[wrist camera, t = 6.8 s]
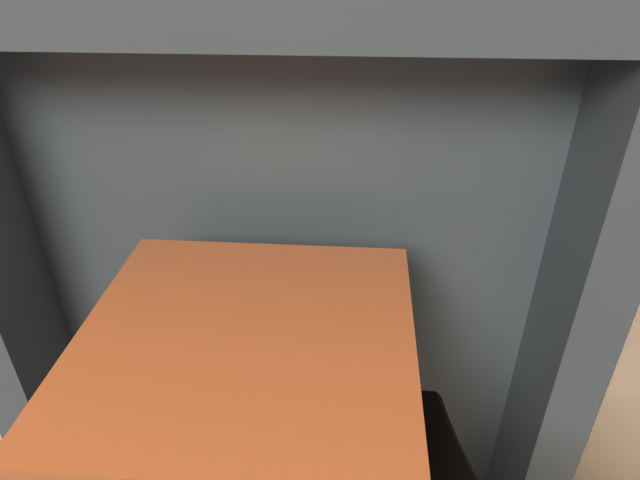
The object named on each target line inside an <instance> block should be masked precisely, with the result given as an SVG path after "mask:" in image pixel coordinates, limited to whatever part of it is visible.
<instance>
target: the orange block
mask: <svg viewBox="0 0 640 480" xmlns="http://www.w3.org/2000/svg"><path fill="white" fill-rule="evenodd" d="M0 480H431V478H430V469H429V460H428V450H427V441H426V432H425V422H424V413H423V404H422V394H421V385H420V376H419V366H418V357H417V347H416V338H415V329H414V319H413V310H412V301H411V291H410V282H409V273H408V263H407V254H406V249H393V248H366V247H340V246H313V245H287V244H261V243H234V242H208V241H181V240H155V239H141V241H140V242H139V243H138V245H137V246H136V248H135V249H134V251H133V252H132V253H131V255H130V256H129V258H128V259H127V261H126V262H125V264H124V265H123V266H122V268H121V269H120V271H119V272H118V274H117V275H116V277H115V278H114V279H113V281H112V282H111V284H110V285H109V287H108V288H107V289H106V291H105V292H104V294H103V295H102V297H101V298H100V300H99V301H98V302H97V304H96V305H95V307H94V308H93V310H92V311H91V313H90V314H89V315H88V317H87V318H86V320H85V321H84V323H83V324H82V325H81V327H80V328H79V330H78V331H77V333H76V334H75V336H74V337H73V338H72V340H71V341H70V343H69V344H68V346H67V347H66V349H65V350H64V351H63V353H62V354H61V356H60V357H59V359H58V360H57V361H56V363H55V364H54V366H53V367H52V369H51V370H50V372H49V373H48V374H47V376H46V377H45V379H44V380H43V382H42V383H41V385H40V386H39V387H38V389H37V390H36V392H35V393H34V395H33V396H32V397H31V399H30V400H29V402H28V403H27V405H26V406H25V408H24V409H23V410H22V412H21V413H20V415H19V416H18V418H17V419H16V421H15V422H14V423H13V425H12V426H11V428H10V429H9V431H8V432H7V433H6V435H5V436H4V438H3V439H2V441H1V442H0Z"/></svg>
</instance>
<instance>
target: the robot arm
mask: <svg viewBox="0 0 640 480" xmlns="http://www.w3.org/2000/svg"><path fill="white" fill-rule="evenodd" d="M421 394H422V404H423V413H424V422H425V432H426V441H427V450H428V460H429V469H430V478H431V480H477V479H476V477H475V475H474V473H473V471H472V469H471V467H470V464H469V462H468V460H467V458H466V456H465V454H464V452H463V449H462V447H461V445H460V443H459V441H458V438H457V436H456V434H455V431H454V429H453V427H452V424H451V422H450V419H449V417H448V414H447V412H446V409H445V406H444V403H443V400H442V397H441V396H440V395H439V394H438V393H437V392H436V391H422V390H421Z"/></svg>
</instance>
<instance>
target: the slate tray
mask: <svg viewBox="0 0 640 480" xmlns="http://www.w3.org/2000/svg"><path fill="white" fill-rule="evenodd" d="M141 239H155V240H181V241H208V242H234V243H261V244H287V245H313V246H340V247H366V248H393V249H406V254H407V263H408V273H409V282H410V291H411V301H412V310H413V319H414V329H415V338H416V347H417V357H418V366H419V376H420V385H421V390H422V391H436V392H437V393H438V394H439V395H440V396H441V397H442V400H443V403H444V406H445V409H446V412H447V414H448V417H449V419H450V422H451V424H452V427H453V429H454V431H455V434H456V436H457V438H458V441H459V443H460V445H461V447H462V449H463V452H464V454H465V456H466V458H467V460H468V462H469V464H470V467H471V469H472V471H473V473H474V475H475V477H476V479H477V480H573V477H574V474H575V472H576V469H577V467H578V464H579V461H580V459H581V456H582V453H583V451H584V448H585V446H586V443H587V440H588V438H589V435H590V432H591V430H592V427H593V425H594V422H595V419H596V417H597V414H598V411H599V409H600V406H601V404H602V401H603V398H604V396H605V393H606V390H607V388H608V385H609V383H610V380H611V377H612V375H613V372H614V369H615V367H616V364H617V362H618V359H619V356H620V354H621V351H622V348H623V346H624V343H625V340H626V338H627V335H628V333H629V330H630V327H631V325H632V322H633V319H634V317H635V314H636V312H637V309H638V306H639V304H640V0H0V434H1V436H2V438H4V436H5V435H6V433H7V432H8V431H9V429H10V428H11V426H12V425H13V423H14V422H15V421H16V419H17V418H18V416H19V415H20V413H21V412H22V410H23V409H24V408H25V406H26V405H27V403H28V402H29V400H30V399H31V397H32V396H33V395H34V393H35V392H36V390H37V389H38V387H39V386H40V385H41V383H42V382H43V380H44V379H45V377H46V376H47V374H48V373H49V372H50V370H51V369H52V367H53V366H54V364H55V363H56V361H57V360H58V359H59V357H60V356H61V354H62V353H63V351H64V350H65V349H66V347H67V346H68V344H69V343H70V341H71V340H72V338H73V337H74V336H75V334H76V333H77V331H78V330H79V328H80V327H81V325H82V324H83V323H84V321H85V320H86V318H87V317H88V315H89V314H90V313H91V311H92V310H93V308H94V307H95V305H96V304H97V302H98V301H99V300H100V298H101V297H102V295H103V294H104V292H105V291H106V289H107V288H108V287H109V285H110V284H111V282H112V281H113V279H114V278H115V277H116V275H117V274H118V272H119V271H120V269H121V268H122V266H123V265H124V264H125V262H126V261H127V259H128V258H129V256H130V255H131V253H132V252H133V251H134V249H135V248H136V246H137V245H138V243H139V242H140V241H141Z"/></svg>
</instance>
